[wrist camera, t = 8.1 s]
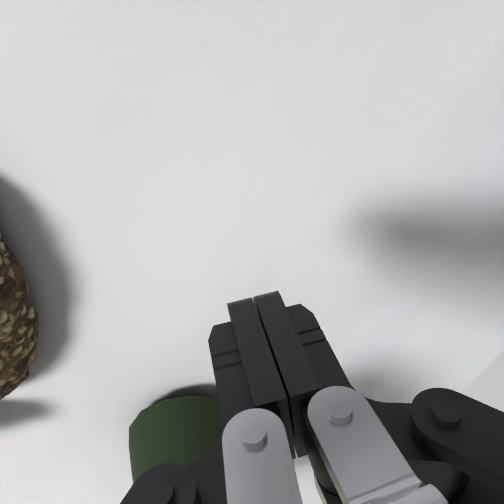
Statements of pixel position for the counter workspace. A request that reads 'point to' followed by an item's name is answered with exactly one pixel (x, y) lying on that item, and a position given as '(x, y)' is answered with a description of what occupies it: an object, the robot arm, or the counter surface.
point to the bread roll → (15, 323)
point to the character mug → (174, 432)
